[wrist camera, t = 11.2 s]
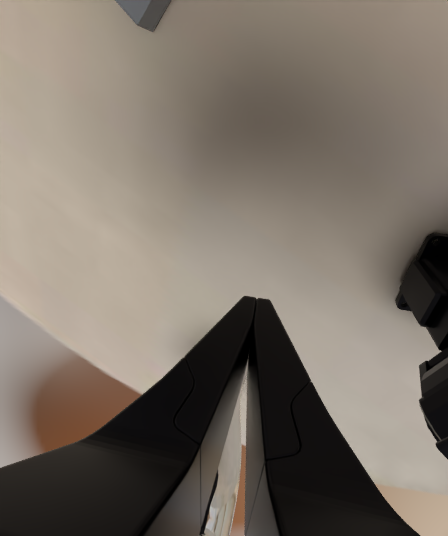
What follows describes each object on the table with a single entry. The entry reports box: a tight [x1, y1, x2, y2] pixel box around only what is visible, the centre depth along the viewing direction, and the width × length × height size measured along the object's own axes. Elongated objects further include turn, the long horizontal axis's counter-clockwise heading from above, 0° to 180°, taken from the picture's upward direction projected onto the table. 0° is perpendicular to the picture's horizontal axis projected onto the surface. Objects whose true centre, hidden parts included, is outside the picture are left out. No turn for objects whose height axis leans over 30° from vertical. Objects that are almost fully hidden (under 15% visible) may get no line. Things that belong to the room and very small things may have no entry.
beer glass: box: [199, 362, 248, 536], centre depth 24 cm, size 7×7×15 cm
